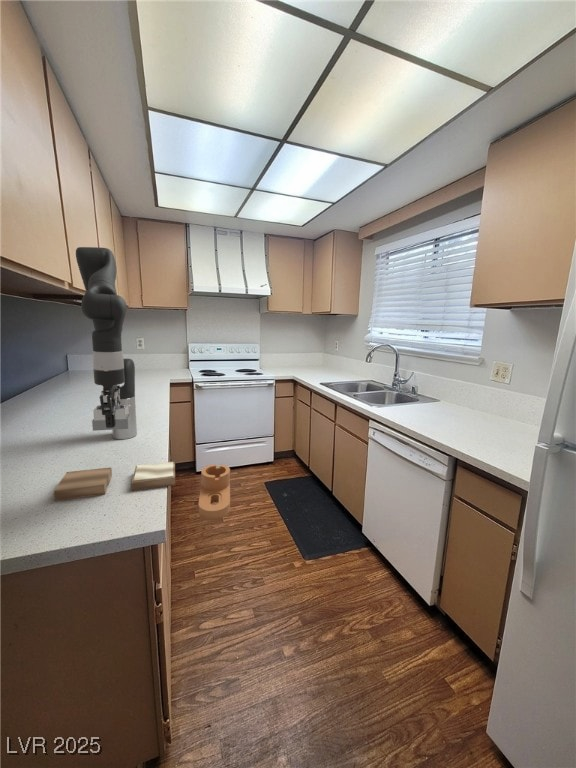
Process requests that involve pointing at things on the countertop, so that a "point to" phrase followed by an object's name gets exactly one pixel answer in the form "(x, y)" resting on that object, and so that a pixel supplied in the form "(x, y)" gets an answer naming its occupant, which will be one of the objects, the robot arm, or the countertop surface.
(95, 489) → the stand
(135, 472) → the stand
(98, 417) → the block
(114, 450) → the countertop surface
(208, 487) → the bracket
